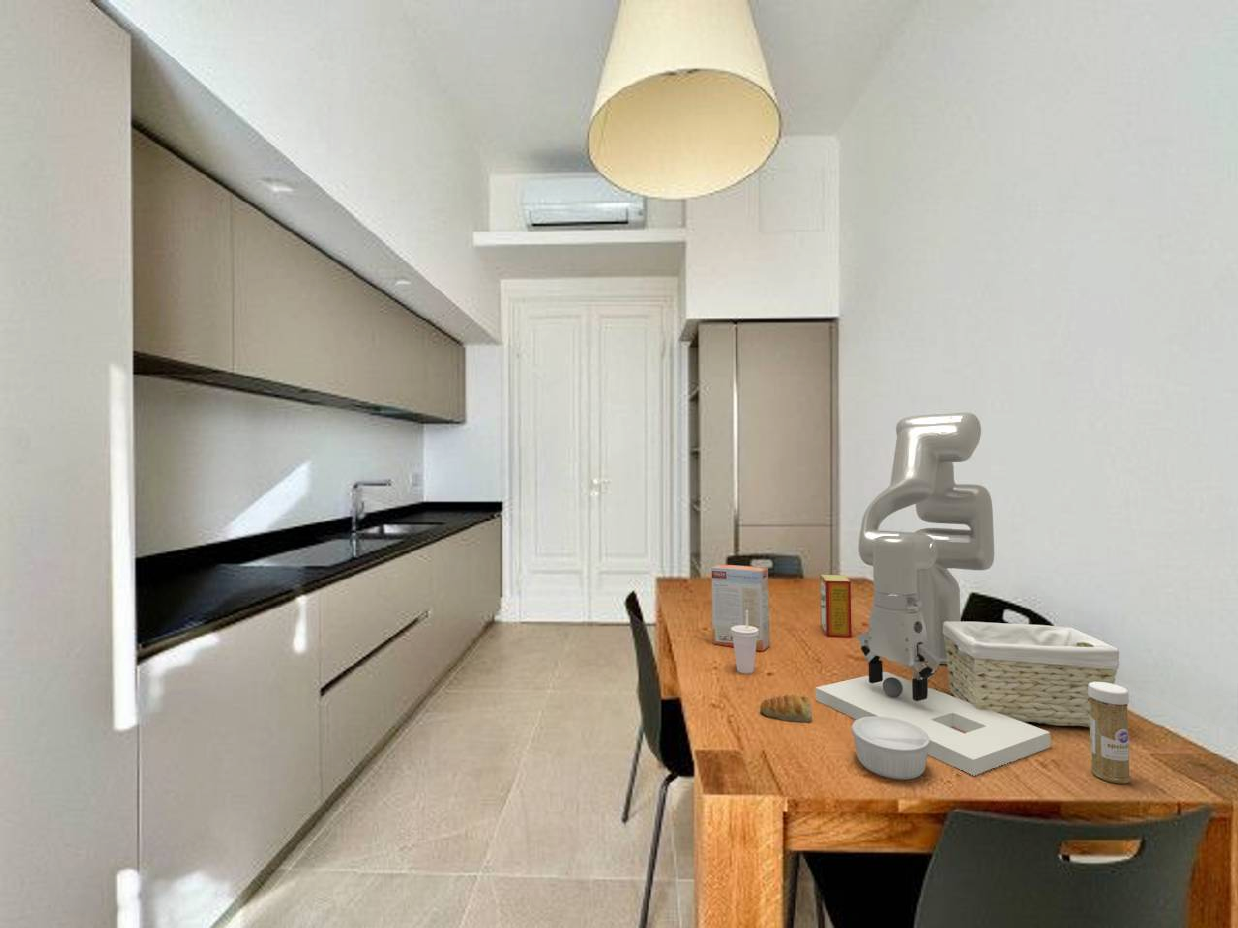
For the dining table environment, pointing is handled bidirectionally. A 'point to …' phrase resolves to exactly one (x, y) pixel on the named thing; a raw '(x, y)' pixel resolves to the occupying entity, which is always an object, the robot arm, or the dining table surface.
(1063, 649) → the storage basket
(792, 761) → the dining table surface
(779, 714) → the pastry
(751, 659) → the smoothie
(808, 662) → the dining table surface
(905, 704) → the board
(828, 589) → the baking soda box
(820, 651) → the dining table surface
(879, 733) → the ramekin
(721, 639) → the cracker box
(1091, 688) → the sprinkles bottle
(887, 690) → the ball
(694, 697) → the dining table surface
